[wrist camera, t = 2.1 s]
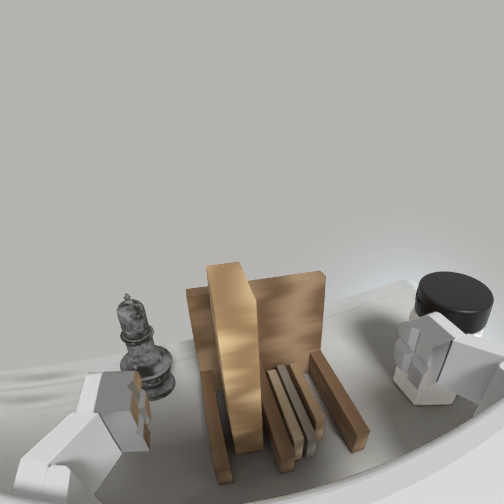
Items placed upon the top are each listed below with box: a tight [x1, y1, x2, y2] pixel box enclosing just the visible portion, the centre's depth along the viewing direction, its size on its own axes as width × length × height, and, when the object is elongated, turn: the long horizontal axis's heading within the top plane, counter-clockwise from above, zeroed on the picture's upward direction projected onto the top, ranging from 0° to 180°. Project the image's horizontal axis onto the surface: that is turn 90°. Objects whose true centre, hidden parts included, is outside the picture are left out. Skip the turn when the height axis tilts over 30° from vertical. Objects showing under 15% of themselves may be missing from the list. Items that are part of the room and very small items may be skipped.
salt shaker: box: [117, 294, 175, 401], centre depth 31 cm, size 6×6×12 cm
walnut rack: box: [186, 271, 370, 484], centre depth 26 cm, size 13×13×12 cm
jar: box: [393, 272, 494, 405], centre depth 28 cm, size 9×8×12 cm
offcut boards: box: [268, 362, 325, 460], centre depth 27 cm, size 3×10×4 cm, turn 12°
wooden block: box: [206, 262, 264, 455], centre depth 24 cm, size 2×6×16 cm, turn 12°
